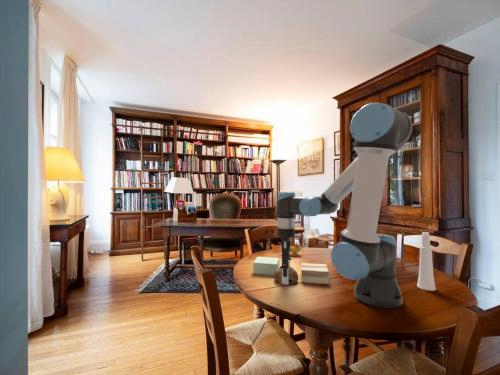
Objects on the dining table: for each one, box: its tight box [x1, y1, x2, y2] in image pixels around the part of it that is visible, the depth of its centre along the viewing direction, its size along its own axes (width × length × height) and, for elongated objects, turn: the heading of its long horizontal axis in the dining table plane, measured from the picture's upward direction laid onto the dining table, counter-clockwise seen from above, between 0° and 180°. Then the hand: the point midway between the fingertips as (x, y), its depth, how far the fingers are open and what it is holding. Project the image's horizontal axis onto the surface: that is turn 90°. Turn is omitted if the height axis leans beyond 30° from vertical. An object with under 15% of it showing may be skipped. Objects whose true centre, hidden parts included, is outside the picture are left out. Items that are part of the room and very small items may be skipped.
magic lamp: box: [279, 237, 309, 257], centre depth 148 cm, size 7×18×11 cm, turn 71°
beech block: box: [301, 262, 330, 285], centre depth 107 cm, size 11×11×5 cm
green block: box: [252, 256, 280, 276], centre depth 117 cm, size 11×11×5 cm
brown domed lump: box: [273, 265, 299, 285], centre depth 104 cm, size 10×10×8 cm
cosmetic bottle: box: [416, 231, 437, 292], centre depth 97 cm, size 6×6×22 cm
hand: (286, 279), depth 105 cm, fingers closed on brown domed lump, 10 cm apart
